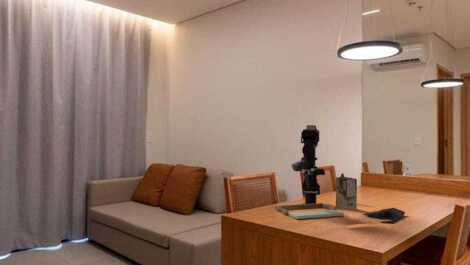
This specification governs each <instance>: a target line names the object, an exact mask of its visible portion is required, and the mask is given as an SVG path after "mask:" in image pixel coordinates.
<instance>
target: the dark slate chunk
mask: <svg viewBox="0 0 470 265" xmlns="http://www.w3.org/2000/svg"><path fill="white" fill-rule="evenodd" d="M405 214H406V211H404V210H401V209H398V208H396V207H389V208H382V209H380V210H375V211H371V212H368V213H367V212H366V213H363V214H362V215H363V216H366V217H368V218H371V219H376V220H381V223H383V224H390V225H391V224H394V223H396V222H398V221H399V220H400V219H401V218H402V217H403V216H404V215H405ZM399 218H400V219H399ZM382 220H385V221H382Z"/></svg>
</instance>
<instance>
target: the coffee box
mask: <svg viewBox="0 0 470 265" xmlns="http://www.w3.org/2000/svg"><path fill="white" fill-rule="evenodd" d="M357 181H358V179H357V178H353V177H348V176H344V177H340V176H336V177H335V200H336V202H335V207H336V208H339V209H343V210H346V211H348V210H357V205H358V204H357V203H358V202H357V199H358V197H357V196H358V194H357V192H358V191H357V190H358V187H357V186H358V184H357V183H358V182H357Z"/></svg>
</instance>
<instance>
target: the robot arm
mask: <svg viewBox="0 0 470 265" xmlns="http://www.w3.org/2000/svg"><path fill="white" fill-rule="evenodd" d="M319 143H320V130H318V128H317V126H316V125H315V124H314V125H313V124H308V125H306V128H303V129H302V131H301V133H300V144H303V146H302V148H301V152H302V154H303V156H302V157H301V158H300V160H298V161H296V162H293V163H292V164H291V167H292V170H293V172H300V174H301V175H302V176H303V177H304V178H303V182H301V183H302V185H301V186H302V187H301V188H302V189H301V191H302V195H304V202H303V203H302V204H315V203H317V196H319V195H321V185H320V184H319V182H318V178H317V177H318V176H325V175H326V170H325V169H324V168H322V167H318V166H316V164H317V163H316V161H318V157H316V150H317V147H318V145H319Z"/></svg>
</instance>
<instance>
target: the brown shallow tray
mask: <svg viewBox="0 0 470 265" xmlns="http://www.w3.org/2000/svg"><path fill="white" fill-rule="evenodd" d="M318 208H321V209H323V210H337V207H336V206H335V207H334V206H332V205H328V204H326V203H323V202H316V203H315V204H301V203H298V204H286V205H285V204H283V205H282V204H281V205H274V211H277V213H280V214H282V215H283V216H288V213H289V211H291V210H305V209H306V210H307V209H318ZM288 210H289V211H288Z"/></svg>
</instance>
